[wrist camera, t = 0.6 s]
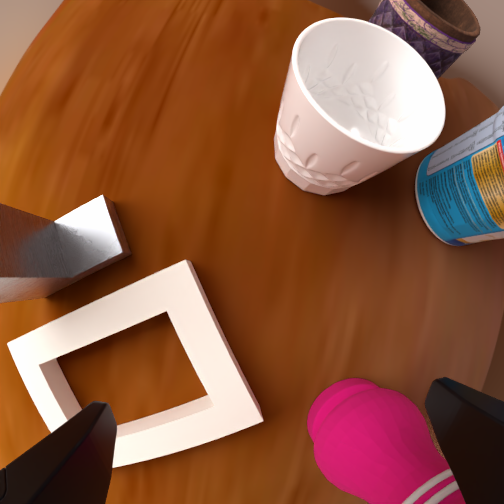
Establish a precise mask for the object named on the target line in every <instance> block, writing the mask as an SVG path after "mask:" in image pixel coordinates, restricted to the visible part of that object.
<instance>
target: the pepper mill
mask: <svg viewBox="0 0 504 504" xmlns="http://www.w3.org/2000/svg"><path fill="white" fill-rule="evenodd" d="M307 427H308V432H309V434H310V436H311V438H312V440H313V442H314V456H315V460H316V463H317V466H318V467H319V469H320V470H321V471H322V473H323V474H324V476H325V477H326V478H327V480H328V481H330V482H331V483H332V484H334V485H335V486H336V487H337V488H339V489H341V490H343V491H345V492H347V493H350V494H352V495H355V496H358V497H360V498H362V499H364V500H365V501H367V502H368V503H369V504H466V503H465V501H464V498H463V496H462V494H461V491H460V489H459V487H458V485H457V482H456V480H455V478H454V476H453V474H452V471H451V469H450V467H449V465H448V463H447V461H446V460H445V459H444V458H443V457H442V456H441V455H440V454H439V453H438V451H437V449H436V448H435V446H434V444H433V441H432V439H431V436H430V433H429V430H428V427H427V424H426V421H425V419H424V417H423V416H422V414H421V412H420V411H419V409H418V408H417V406H416V405H415V404H414V403H413V402H411V401H410V400H409V399H408V398H407V397H406V396H405V395H403V394H401V393H400V392H397V391H394V390H390V389H386V388H380V387H378V386H377V385H375V384H374V383H372V382H371V381H368V380H365V379H360V378H350V379H345V380H342V381H339V382H337V383H335V384H333V385H331V386H330V387H328V388H327V389H325V390H324V391H323V392H322V393H321V394H320V395H319V396H318V397H317V398H316V400H315V401H314V403H313V404H312V406H311V408H310V411H309V414H308V419H307Z"/></svg>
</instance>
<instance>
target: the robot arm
mask: <svg viewBox="0 0 504 504" xmlns="http://www.w3.org/2000/svg"><path fill="white" fill-rule="evenodd" d="M425 408H426V410H427V413H428V416H429V418H430V421H431V424H432V426H433V429H434V432H435V435H436V438H437V440H438V443H439V446H440V448H441V450H442V452H443V454H444V456H445V458H446V461H447V463H448V465H449V467H450V469H451V471H452V474H453V476H454V478H455V480H456V482H457V485H458V487H459V489H460V491H461V494H462V496H463V498H464V501H465V503H466V504H504V402H503V401H501V400H498V399H496V398H493V397H491V396H489V395H486V394H484V393H482V392H479V391H477V390H475V389H472V388H470V387H468V386H465V385H463V384H461V383H458V382H456V381H454V380H451V379H449V378H447V377H443V378H439V379H436V380H434V381H433V382H432V384H431V387H430V389H429V392H428V394H427V397H426V399H425ZM116 435H117V424H116V421H115V418H114V415H113V413H112V410H111V407H110V405H109V404H108V403H106V402H99V401H93V402H92V403H90V404H89V405H88V406H86V407H85V408H84V409H82V410H81V411H80V412H78V413H77V414H76V415H74V416H73V417H72V418H70V419H69V420H68V421H66V422H65V423H64V424H62V425H61V426H60V427H58V428H57V429H56V430H54V431H53V432H52V433H50V434H49V435H48V436H46V437H45V438H44V439H42V440H41V441H40V442H38V443H37V444H36V445H34V446H33V447H32V448H30V449H29V450H27V451H26V452H25V453H23V454H22V455H21V456H19V457H18V458H17V459H15V460H14V461H12V462H11V463H10V464H8V465H7V466H6V468H3V469H1V470H0V504H105V502H106V498H107V493H108V489H109V485H110V480H111V474H112V467H113V458H114V450H115V442H116Z"/></svg>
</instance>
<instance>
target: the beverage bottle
mask: <svg viewBox="0 0 504 504" xmlns="http://www.w3.org/2000/svg"><path fill="white" fill-rule="evenodd" d="M415 194H416V200H417V204H418V208H419V211H420V213H421V216H422V218H423V220H424V222H425V223H426V225H427V227H428V228H429V229H430V231H431V232H432V233H433V234H434V235H435V236H436V237H437V238H439V239H440V240H441V241H443V242H445V243H447V244H449V245H453V246H463V245H469V244H473V243H477V242H482V241H488V240H495V239H502V238H504V106H503V107H502V108H501V109H500V110H499V112H498V113H496V114H495V115H493V116H491V117H490V118H488V119H487V120H485V121H483V122H482V123H480V124H479V125H477V126H475V127H474V128H472V129H471V130H469V131H467V132H466V133H464V134H463V135H461V136H459V137H458V138H456V139H454V140H453V141H451V142H450V143H448V144H446V145H445V146H443V147H441V148H439V149H437V150H435V151H433V152H432V153H430V154H429V155H427V156H426V157H425V158H424V159H423V161H422V162H421V164H420V166H419V168H418V171H417V174H416V180H415Z"/></svg>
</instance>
